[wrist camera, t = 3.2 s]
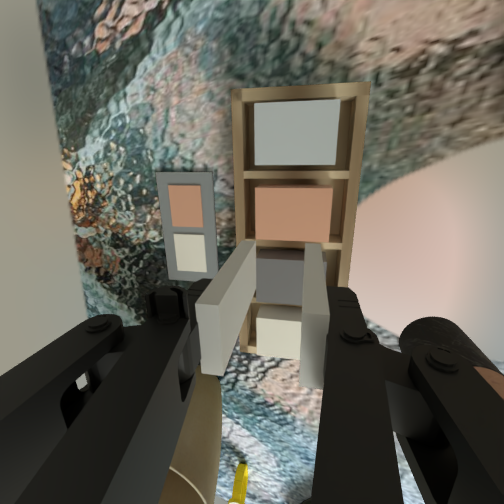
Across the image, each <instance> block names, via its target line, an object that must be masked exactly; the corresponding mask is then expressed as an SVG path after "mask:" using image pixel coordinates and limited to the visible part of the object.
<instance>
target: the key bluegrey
mask: <svg viewBox="0 0 504 504" xmlns="http://www.w3.org/2000/svg"><path fill="white" fill-rule="evenodd" d="M340 100H341V99H334V100H312V101H291V102H269V103H254V131H255V165H335V161H336V148H337V136H338V124H339V112H340Z"/></svg>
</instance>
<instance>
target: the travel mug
mask: <svg viewBox="0 0 504 504" xmlns="http://www.w3.org/2000/svg"><path fill="white" fill-rule="evenodd" d="M399 345H400V349H401V352H402V353H404V354H407V355H410V356H411V354H412V351H413V349H414V348H415V347H417V346H419V345H434V346H440V347H443V348H447V349H449V350H451V351H453V352H455V353H457V354H459V355H461V356H462V357H463V358H465V359H466V360H467V361H468V362H469V363H470V364H471V365H472V366H473V367H474V368H475V369H476V370H477V371H478V372H479V373H480V374H481V376H482V377H483V378H484V379H485V380H486V381H487V382H488V383H489V384H490V385H491V386H492V387H493V389H494V390H495V391H496V392H497V393H498V394H499V395H500V396H501V397H502V398H503V399H504V375H503V374H502V373H501V372H500V371H499V370H498V368H497V367H496V366H495V365H494V364H493V363H492V362H491V361H490V360H489V359H488V358H487V357H486V355H484V353H483V352H482V351H481V350H480V349H479V348H478V347H477V346H476V345H475V344H474V343H473V341H472V340H471V339H470V338H469V337H468V336H467V335H466V334H465V333H464V332H463V331H462V330H461V329H460V328H459V327H458V326H457V325H456V324H455V323H453V322H452V321H450V320H448V319H445V318H441V317H425V318H421V319H418V320H415V321H413V322H412V323H410V324H409V325H407V327H406V328H404V330H403V331H402V333H401V335H400V339H399Z"/></svg>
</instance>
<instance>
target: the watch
mask: <svg viewBox="0 0 504 504" xmlns="http://www.w3.org/2000/svg"><path fill="white" fill-rule="evenodd" d="M247 466H248V465H247V464H243V463H240V464H239V465H238V467H237V470H236V474H235V479H234V480H235V481H234V486H233V493H232V498H231V499H229V501H228V504H245V503H244V502H245V497H246V490H247V481H248V468H247Z"/></svg>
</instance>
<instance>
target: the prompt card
mask: <svg viewBox="0 0 504 504" xmlns="http://www.w3.org/2000/svg"><path fill="white" fill-rule="evenodd" d="M156 180H157V188H158V196H159V204H160V212H161V219H162V227H163V235H164V243H165V251H166V259H167V267H168V275H169V279H171V280H185V281H198V280H200V279H202V278H207V279H213V278H214V277H215V276H216V274H217V273H218V272H219V267H218V250H217V234H216V217H215V200H214V183H213V172H156Z"/></svg>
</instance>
